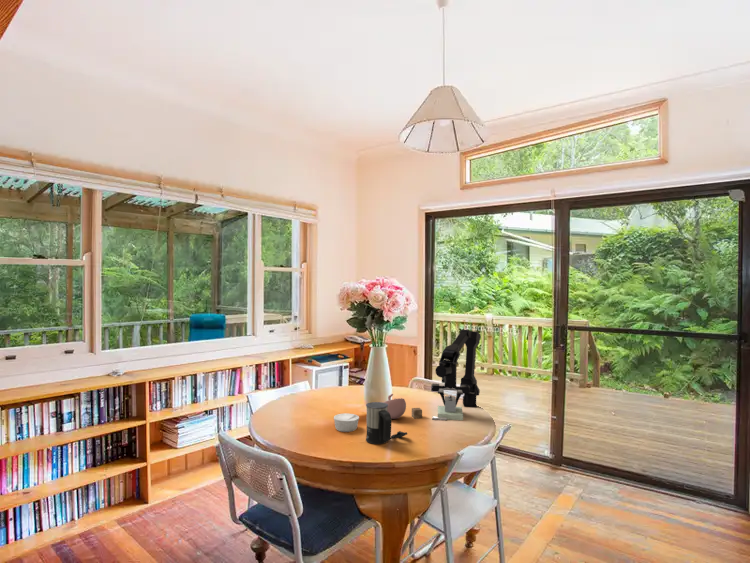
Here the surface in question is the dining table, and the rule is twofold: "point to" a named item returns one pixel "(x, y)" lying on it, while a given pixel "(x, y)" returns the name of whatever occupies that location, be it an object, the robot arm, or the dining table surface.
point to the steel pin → (439, 418)
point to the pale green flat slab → (450, 413)
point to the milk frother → (379, 424)
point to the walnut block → (416, 413)
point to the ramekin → (346, 422)
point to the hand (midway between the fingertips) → (450, 405)
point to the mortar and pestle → (395, 407)
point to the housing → (450, 404)
